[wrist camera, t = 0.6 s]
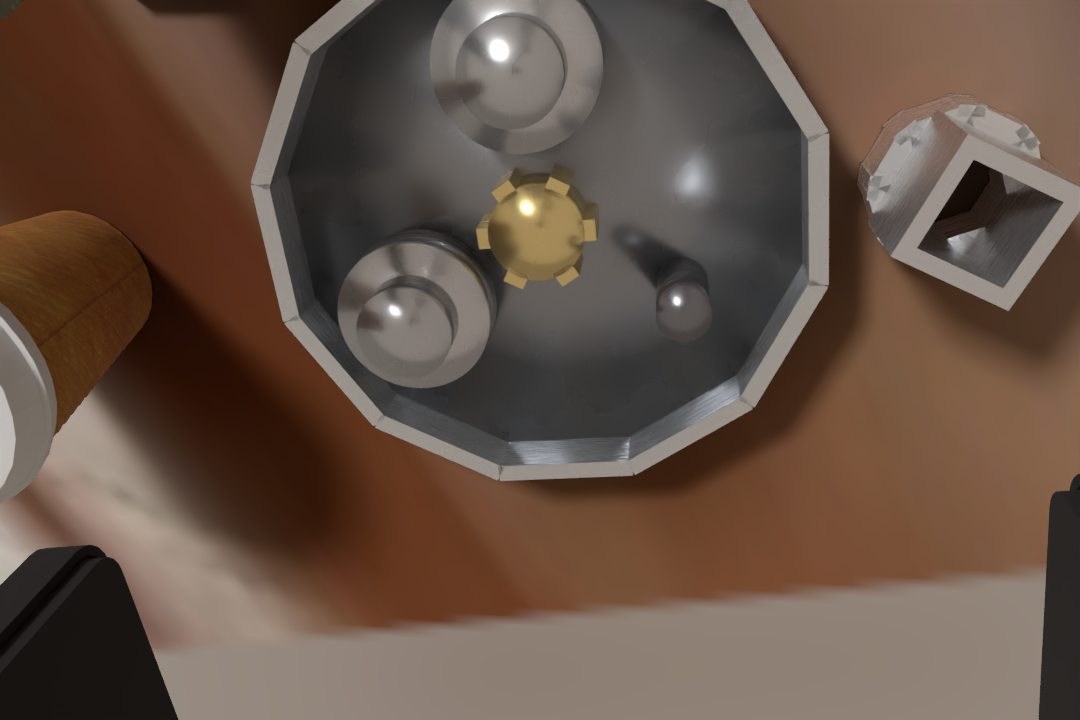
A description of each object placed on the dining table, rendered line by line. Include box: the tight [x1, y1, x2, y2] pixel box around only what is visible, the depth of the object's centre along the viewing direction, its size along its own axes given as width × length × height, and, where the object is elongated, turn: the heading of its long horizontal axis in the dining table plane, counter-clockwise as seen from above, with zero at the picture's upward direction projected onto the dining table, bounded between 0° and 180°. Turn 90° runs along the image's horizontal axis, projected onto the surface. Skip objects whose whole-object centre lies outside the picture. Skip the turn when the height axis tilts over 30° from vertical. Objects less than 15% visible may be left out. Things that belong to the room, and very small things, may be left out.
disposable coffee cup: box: [0, 210, 152, 503], centre depth 38 cm, size 10×10×12 cm
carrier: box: [251, 0, 829, 481], centre depth 37 cm, size 21×21×5 cm
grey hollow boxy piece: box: [857, 94, 1080, 311], centre depth 35 cm, size 6×6×6 cm
